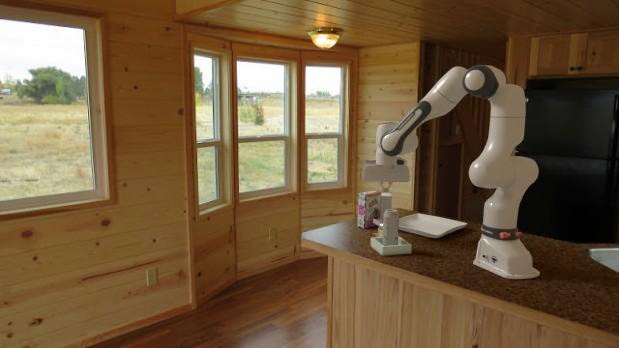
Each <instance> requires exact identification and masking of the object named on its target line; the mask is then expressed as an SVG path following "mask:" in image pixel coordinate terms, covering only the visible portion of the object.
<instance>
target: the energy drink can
mask: <svg viewBox="0 0 619 348" xmlns="http://www.w3.org/2000/svg"><path fill="white" fill-rule="evenodd" d="M398 211H399V210H397V209H394V208H391V209H386V210H385V213H384V219H383V220H382V221H383V245H384V246H391V245H398V236H399V231H400V230H399V218H400V214H399V212H398Z"/></svg>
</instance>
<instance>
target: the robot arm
mask: <svg viewBox="0 0 619 348" xmlns="http://www.w3.org/2000/svg"><path fill="white" fill-rule="evenodd" d="M467 94H469V95H471V96H473V97H476V98H479V99H482V100H488V101H489V103H490V115H489V116H490V117H489V127H488V128H489V129H488V135H487V136H488V138H487V141H486V144H485V146H484V149H483V150H482V152H481V154H480V155H479V156H478V157H477V158H476V159H475V160H474V161H473V162H472V163H471V165H470V167H469V170H468V176H469V180H470V181H471V183H472V184H473V185H474V186H475V187H479V188H483V189H495V192H494V193H493V194H492V195H491V196H490V197H489V198H488V199H486V201H485V202H484V205H483V206H484V207H483V218H482V219H483V221H482V223H481V226H480V233H481V237H480V239H479V241H478V243H477V249H476V255H475V259H473V263H472V265H475V266H477V267H479V268H481V269H484V270H487V271H488V272H491V273H493V274H495V275H496V276H500V277H502V278H505V279H510V280H524V279H527V280H528V279H533V278H537V277H539V276H540V274H541V271H539V270H538V269H536V267H533V256H532V254H531V253H530V251H529V250H528V249H527V248H526V247H525V245H524V244H523V243H522V241H521V240H520V235H521V234H522V231H519V228H518V226H517V223H518V214H519V207H520V204H521V201H522V199H523V196H524V194H525V193H526V191H527V190H528V189H529V187H530V186H532V184H534V183H535V182H536V180H537V179H538V177H539V173H540V171H539V166H538V164H537V162H536V161H535V160H534V159H532V158H530V157H526V156H520V155H519V156H518V155H517V156H516V155H515V156H514V155H513V156H511V155H512V153H513V151H514V149H515V148H516V147H517V146H518V145H519V144H521V143H522V141H523V140H524V138H525V137H524V136H525V125H526V111H527V109H526V107H527V106H526V96H525V91H524V89H523V88H522V87H521V86H519V85H517V84H512V83H510V84H509V77H508V75H507V73H506V72H505V71H504V70H503V69H500V68H497V67H496V66H493V65H487V64H486V65H485V64H477V65H473V66H471V67H469V68H468V69H467V68H466V67H463V66H459V65H458V66H457V65H456V66H454V67H452V68H450V69H449V70H448V71H447V72H446V73H445V74H444V75H443V76H442V77H441V78H439V80H438V81H437V82H436V83H435V84H434V86H433V87H431V89H430V90H429V91H428V92H427V94H426V95H425V96H424V97H423V98H422V99H421V100H420V101H419V102H418V103H417V104H415V106H414V107H413V108H411V110H410V111H408V113H406V115H405V116H404V117H403V118H402V119H401V120H400V121H399V122H398V123H396V122H393V121H392V122H391V121H389V122H384V123H380V124H379V125H378V126H377V129H376V137H375V138H376V139H375V144H376V151H375V159H372V160H369V159H366V160H364V161H362V163H361V169H362V170H363V171H362V181H363V182H368V183H370V182H373V183H374V182H375V183H379V185H380V187H381V189H382V192H381V193H390V188H391V186H392V185H393V183H409V182H410V181H411V174H410V168H409V166H408V165H407V164H408V160H407V159H406V158H403V157H400V156H399V155H406V154H412V153H413V152H415V151H416V150H417V148H418V147H419V137H418V135H417V134H416V133H415V132H414V131H415V130H416V129H418V127H419V126H421V125H422V124H423V123H425V122H427V121H429V120H433V119H435V118H439V117H442V116H443V117H444V116H445V115H447V114H448V113H449V112H451V111H452V110H453V109H454V108H455V107H456V106H457V104H459V103H460V101H461V100H462V99H463V98H464V97H465V96H466V95H467ZM384 183H388V187H384Z"/></svg>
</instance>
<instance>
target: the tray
mask: <svg viewBox="0 0 619 348" xmlns="http://www.w3.org/2000/svg"><path fill="white" fill-rule="evenodd" d="M370 246H371V248H372V249H374V250H375V251H376V252H377V253H379V255H380V256H382V257H386V256H387V257H388V256H396V255H407V254H412V244H411V243H410V242H408V241H407V240H406V239H404V238H402V237H401V236H400V235H398V245H391V246H384V245H383V237H376V236H374V237H370Z"/></svg>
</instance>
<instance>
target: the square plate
mask: <svg viewBox="0 0 619 348" xmlns="http://www.w3.org/2000/svg"><path fill="white" fill-rule="evenodd" d="M467 225H468V223H467V222H464V221H459V220H454V219H450V218H446V217H445V218H444V217H441V216H436V215H435V216H434V215H430V214H424V213H418V212H417V213H413V214H409V215H405V216H402V217H399V231H402V232H405V233H409V234H413V235H416V236H422V237H426V238H429V239H430V238H432V239H439V238H442V237H444V236H446V235H449V234H451V233H453V232H456V231H458V230H462V229H463V228H464V227H466V226H467Z"/></svg>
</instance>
